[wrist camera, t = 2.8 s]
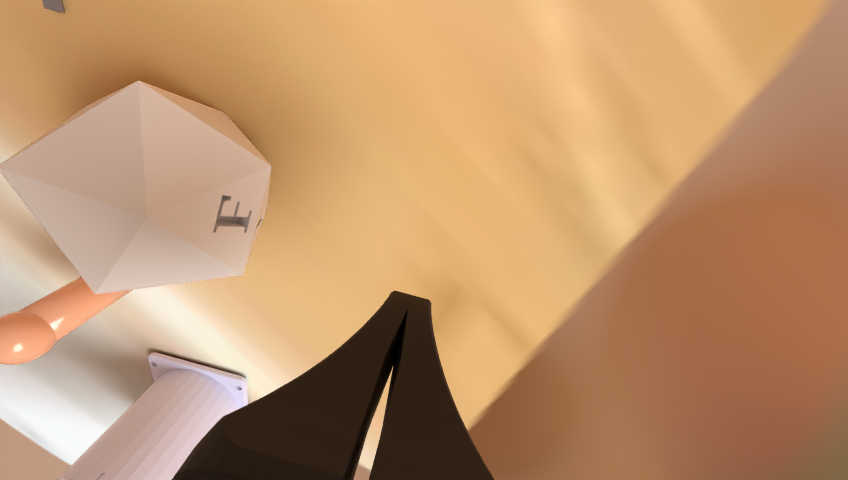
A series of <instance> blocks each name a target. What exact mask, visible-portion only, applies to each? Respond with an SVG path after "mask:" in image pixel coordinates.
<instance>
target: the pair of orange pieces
mask: <svg viewBox="0 0 848 480" xmlns="http://www.w3.org/2000/svg"><path fill="white" fill-rule="evenodd" d="M42 1H43V4H44V8H46V9H50V10H54V11H58V12H63V13H65V12H64V8H63V3H62V0H42ZM132 290H133V289H132ZM132 290H125V291H117V292H109V293H102V294H94V292H93V291H92V290H91V288H90V287H89V286H88V285H87V283H86V282H85V281H84V279H83V278H82V277H80V278H78V279H76V280H74V281H72V282H71V283H69V284H67V285H65V286H63V287H62V288H60V289H58V290H56V291H54V292H53V293H51V294H49V295H47V296H45V297H44V298H42V299H40V300H38V301H36V302H35V303H33V304H31V305H29V306H27V307H26V308H24V309H22V310H20V311H18V312H13V313H9V314H6V315H4V316H1V317H0V364H7V365H14V364H22V363H26V362H30V361H32V360H35V359H37V358H39V357H41V356H42V355H44V354H45V353H46V352H48V351H49V350H50V349H51V348H52V346H53V345H54V343H55V342H56V341H58V340H59V339H61V338H62V337H64V336H65V335H67V334H68V333H70V332H71V331H73V330H74V329H76V328H77V327H78V326H80V325H81V324H83V323H84V322H86V321H87V320H89V319H90V318H92V317H93V316H95V315H96V314H98V313H99V312H101V311H102V310H104V309H105V308H107V307H108V306H110V305H111V304H113V303H114V302H115V301H117V300H118V299H120V298H121V297H123V296H124V295H126V294H127V293H129V292H130V291H132Z"/></svg>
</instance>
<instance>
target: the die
mask: <svg viewBox="0 0 848 480" xmlns="http://www.w3.org/2000/svg"><path fill="white" fill-rule="evenodd" d="M271 169H272V166H271V165H270V164H269V162H268V161H267V160H266V159H265V158H264V157H263V156H262V155H261V153H260V152H259V151H258V150H257V149H256V148H255V147H254V145H253V144H252V143H251V142H250V141H249V140H248V139H247V137H246V136H245V135H244V134H243V133H242V132H241V131H240V129H239V128H238V127H237V126H236V125H235V124H234V123H233V122H232V120H231V119H230V118H229V117H228V116H227V115H226V114H225V112H222V111H219V110H217V109H214V108H211V107H209V106H206V105H203V104H201V103H198V102H195V101H193V100H190V99H187V98H184V97H182V96H179V95H176V94H174V93H171V92H168V91H166V90H163V89H160V88H158V87H155V86H152V85H150V84H147V83H144V82H142V81H139V80H138V81H136V82H134V83H132V84H130V85H128V86H126V87H124V88H122V89H120V90H117V91H115V92H113V93H111V94H109V95H107V96H105V97H103V98H101V99H99V100H97V101H95V102H93V103H91V104H89V105H87V106H86V107H84V108H83V109H81V110H80V111H78V112H77V113H75V114H74V115H72V116H71V117H70V118H68V119H67V120H65V121H64V122H62V123H61V124H59V125H58V126H56V127H55V128H53V129H52V130H50V131H49V132H47V133H46V134H45V135H43V136H42V137H40V138H39V139H37V140H36V141H34V142H33V143H31V144H30V145H28V146H27V147H25V148H24V149H22V150H21V151H19V152H18V153H17V154H15V155H14V156H12V157H11V158H9V159H8V160H6V161H5V162H3V163H2V164H0V172H1V173H2V175H3V176H4V177H5V179H6V180H7V181H8V182H9V184H10V185H11V186H12V188H13V189H14V190H15V191H16V193H17V194H18V195H19V197H20V198H21V199H22V201H23V202H24V203H25V204H26V206H27V207H28V208H29V210H30V211H31V212H32V213H33V215H34V216H35V217H36V219H37V220H38V221H39V223H40V224H41V225H42V226H43V228H44V229H45V230H46V232H47V233H48V234H49V235H50V237H51V238H52V239H53V241H54V242H55V243H56V244H57V246H58V247H59V248H60V250H61V251H62V252H63V254H64V255H65V256H66V257H67V259H68V260H69V261H70V263H71V264H72V265H73V266H74V268H75V269H76V270H77V272H78V273H79V274H80V275H81V277H82V278H83V279H84V281H85V282H86V283H87V285H88V286H89V287H90V288H91V290H92V291H93V292H94V294H102V293H109V292H117V291H125V290H132V289H140V288H147V287H155V286H163V285H170V284H178V283H186V282H193V281H201V280H209V279H216V278H224V277H231V276H239V275H243V273H244V271H245V268H246V265H247V262H248V259H249V257H250V254H251V251H252V248H253V245H254V242H255V240H256V237H257V234H258V231H259V228H260V226H261V223H262V220H263V217H264V214H265V212H266V209H267V205H268V194H269V187H270V178H271Z"/></svg>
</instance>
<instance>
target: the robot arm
mask: <svg viewBox="0 0 848 480" xmlns="http://www.w3.org/2000/svg"><path fill="white" fill-rule="evenodd" d="M148 362H149V366H150V370H151V374H152V378H153V382H154V383H153V384H152V385H151V386H150V387H149V388H148V389H147V390H146V391H145V392H144V393H143V394H142V395H141V396H140V397H139V398H138V399H137V400H136V401H135V402H134V403H133V404H132V405H131V406H130V407H129V408H128V409H127V410H126V411H125V412H124V413H123V414H122V415H121V416H120V417H119V418H118V419H117V420H116V421H115V422H114V423H113V424H112V425H111V426H110V427H109V428H108V429H107V430H106V431H105V432H104V434H103V435H102V436H101V437H100V438H99V439H98V440H97V441H96V442H95V443H94V444H93V445H92V446H91V447H90V448H89V449H88V450H87V451H86V452H85V453H84V454H83V455H82V456H81V457H80V458H79V459H78V460H77V461H76V462H75V463H74V464H73V465H72V466H71V467H70V468H69V469H68V470H67V471H66V472H65V473H64V474H63V475H62V476H61V477H59V478H58V479H57V480H353V479H354V476H355V472H356V469H357V465H358V462H359V459H360V455H361V452H362V448H363V445H364V442H365V438H366V435H367V432H368V429H369V427H370V424H371V421H372V418H373V416H374V413H375V411H376V408H377V406H378V403H379V401H380V398H381V395H382V393H383V390H384V388H385V385H386V383H387V380H388V378H389V375H390V372H391V370H392V367H393V371H392V376H391V382H390V387H389V393H388V399H387V404H386V410H385V415H384V421H383V426H382V431H381V436H380V440H379V444H378V448H377V451H376V455H375V459H374V463H373V466H372V470H371V474H370V478H369V480H494V478H493V477H492V475H491V473H490V471H489V470H488V468H487V467H486V465H485V464H484V461H483V460H482V458H481V456H480V454H479V452H478V451H477V449H476V447H475V445H474V443H473V441H472V439H471V437H470V435H469V433H468V431H467V429H466V427H465V425H464V423H463V421H462V419H461V417H460V415H459V412H458V410H457V408H456V405H455V403H454V400H453V398H452V395H451V393H450V390H449V387H448V385H447V382H446V379H445V376H444V373H443V369H442V366H441V362H440V359H439V355H438V351H437V346H436V342H435V337H434V332H433V325H432V316H431V302H430V301H429V300H428V299H424V298H420V297H416V296H413V295H409V294H405V293H402V292H398V291H393V292H391V294H390V295H389V297H388V298H387V300H386V301H385V302H384V304H383V305H382V306H381V307H380V309H379V310H378V311H377V312H376V313H375V314H374V315H373V316H372V317H371V318H370V319H369V321H368V322H367V323H366V324H365V325H364V326H363V327H362V328H361V329H360V330H359V331H357V332H356V333H355V334H354V335H353V336H352V337H351V338H350V339H349V340H348V341H346V342H345V343H344V344H343V345H342V346H341V347H339V348H338V349H337V350H336V351H334V352H333V353H332V354H330V355H329V356H328V357H327V358H325V359H324V360H323V361H321V362H320V363H318V364H317V365H315V366H314V367H312V368H311V369H310V370H308V371H307V372H305V373H304V374H302V375H300V376H299V377H297V378H296V379H294V380H292V381H291V382H289V383H287V384H285V385H284V386H282V387H280V388H278V389H277V390H275V391H273V392H271V393H270V394H268V395H266V396H264V397H262V398H260V399H258V400H256V401H254V402H252V403H250V404H248V391H247V380H246V379H245V378H244V377H242V376H239V375H235V374H232V373H228V372H225V371H221V370H218V369H214V368H210V367H207V366H203V365H200V364H196V363H192V362H189V361H185V360H182V359H178V358H174V357H171V356H167V355H164V354H160V353H156V352H152V353H151V354H150V355H149V356H148Z"/></svg>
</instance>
